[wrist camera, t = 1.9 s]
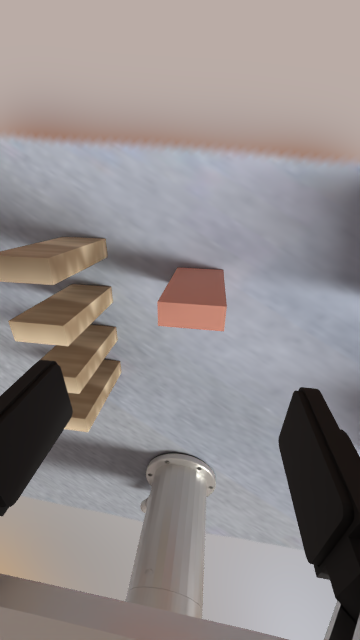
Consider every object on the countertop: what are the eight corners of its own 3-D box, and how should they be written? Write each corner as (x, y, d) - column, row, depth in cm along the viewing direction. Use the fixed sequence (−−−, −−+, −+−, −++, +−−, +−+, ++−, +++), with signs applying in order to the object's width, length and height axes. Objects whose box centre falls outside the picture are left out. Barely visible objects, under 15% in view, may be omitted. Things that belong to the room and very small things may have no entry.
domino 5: (221, 287, 26) (223, 331, 18) (177, 284, 27) (158, 325, 18) (223, 269, 26) (226, 306, 17) (177, 267, 26) (157, 301, 17)
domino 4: (121, 372, 34) (88, 432, 25) (88, 368, 35) (45, 426, 26) (120, 361, 33) (85, 419, 24) (86, 357, 34) (40, 413, 25)
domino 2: (113, 302, 29) (68, 346, 20) (75, 299, 30) (15, 341, 21) (111, 286, 28) (63, 325, 19) (72, 284, 29) (8, 321, 20)
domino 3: (117, 340, 32) (79, 393, 23) (82, 336, 32) (31, 388, 23) (116, 326, 31) (75, 377, 22) (79, 323, 31) (26, 372, 23)
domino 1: (107, 257, 27) (53, 285, 18) (66, 255, 27) (-6, 281, 18) (105, 238, 26) (47, 258, 17) (62, 236, 26) (-15, 255, 18)
